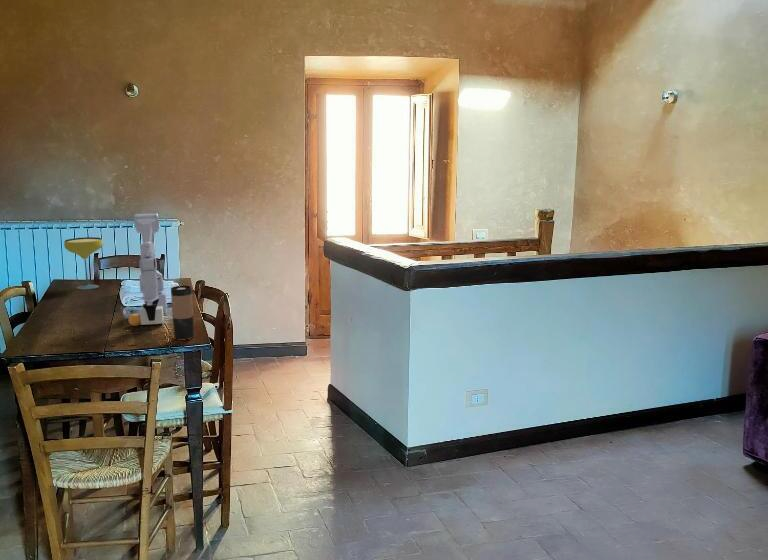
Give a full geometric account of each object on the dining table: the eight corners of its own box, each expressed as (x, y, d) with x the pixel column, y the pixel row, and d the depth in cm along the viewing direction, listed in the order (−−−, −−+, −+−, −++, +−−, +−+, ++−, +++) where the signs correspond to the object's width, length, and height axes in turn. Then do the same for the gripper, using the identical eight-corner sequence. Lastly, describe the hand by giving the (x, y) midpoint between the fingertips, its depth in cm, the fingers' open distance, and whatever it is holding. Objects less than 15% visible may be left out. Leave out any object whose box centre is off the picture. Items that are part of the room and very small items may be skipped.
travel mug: (198, 336, 274) (195, 286, 269) (187, 341, 266) (183, 290, 262) (181, 334, 276) (178, 285, 272) (170, 339, 269) (166, 289, 265)
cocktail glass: (72, 284, 370) (67, 238, 365) (108, 283, 374) (104, 236, 369) (65, 292, 353) (60, 243, 348) (103, 290, 357) (99, 241, 352)
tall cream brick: (163, 319, 295) (162, 305, 293) (162, 323, 289) (161, 309, 288) (142, 321, 293) (141, 307, 292) (140, 324, 287) (139, 310, 286)
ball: (143, 322, 292) (139, 311, 291) (142, 325, 288) (138, 314, 286) (131, 325, 292) (127, 314, 290) (129, 328, 287) (126, 317, 286)
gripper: (141, 283, 294) (143, 314, 297) (137, 290, 280) (140, 323, 283) (158, 282, 295) (161, 313, 298) (156, 289, 282) (158, 322, 284)
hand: (152, 318), depth 291 cm, fingers closed on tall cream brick, 6 cm apart
